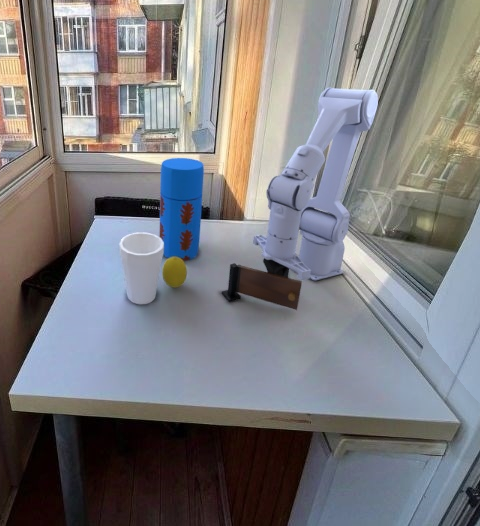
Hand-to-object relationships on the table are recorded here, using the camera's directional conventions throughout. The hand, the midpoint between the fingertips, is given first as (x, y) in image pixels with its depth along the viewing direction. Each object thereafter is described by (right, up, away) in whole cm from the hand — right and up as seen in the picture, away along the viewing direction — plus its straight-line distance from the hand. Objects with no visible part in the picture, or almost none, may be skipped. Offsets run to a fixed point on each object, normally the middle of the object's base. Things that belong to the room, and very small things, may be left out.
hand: (274, 288), depth 72 cm
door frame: (-2, -2, +4) cm, 4 cm away
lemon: (-21, -1, +4) cm, 22 cm away
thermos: (-18, +3, +20) cm, 27 cm away
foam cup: (-29, -2, +2) cm, 29 cm away
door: (-3, -2, -2) cm, 4 cm away
